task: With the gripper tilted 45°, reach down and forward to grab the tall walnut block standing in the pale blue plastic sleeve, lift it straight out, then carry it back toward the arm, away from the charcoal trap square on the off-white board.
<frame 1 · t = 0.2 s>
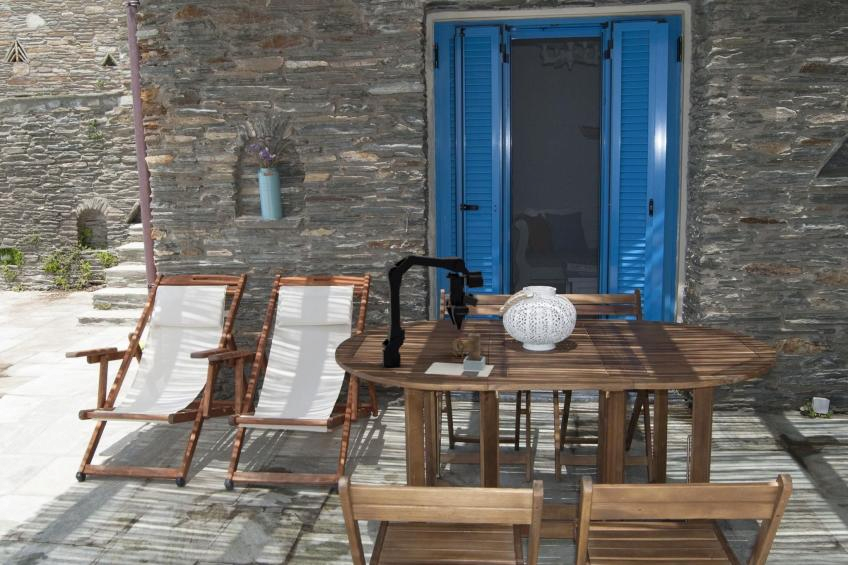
hand: (456, 327, 313), 14 cm above the table, tool pointing down, fingers open, 9 cm apart
walnut block: (474, 351, 301), in the sleeve, point 8 cm above the table, touching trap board
sleeve: (474, 363, 302), on the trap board, point 3 cm above the table
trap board: (459, 371, 300), on the table
lion figurine: (463, 358, 321), on the table
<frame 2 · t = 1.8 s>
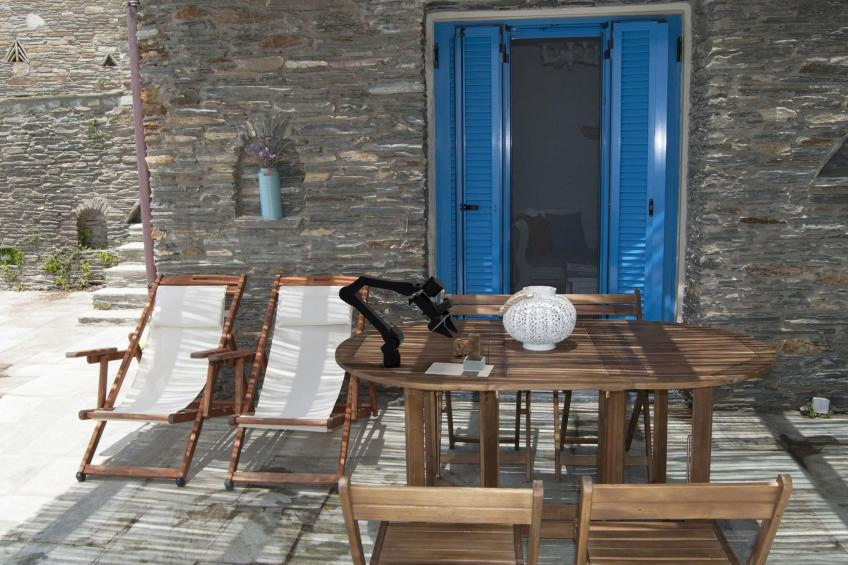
hand: (454, 334, 302), 14 cm above the table, tool tilted 45°, fingers open, 9 cm apart
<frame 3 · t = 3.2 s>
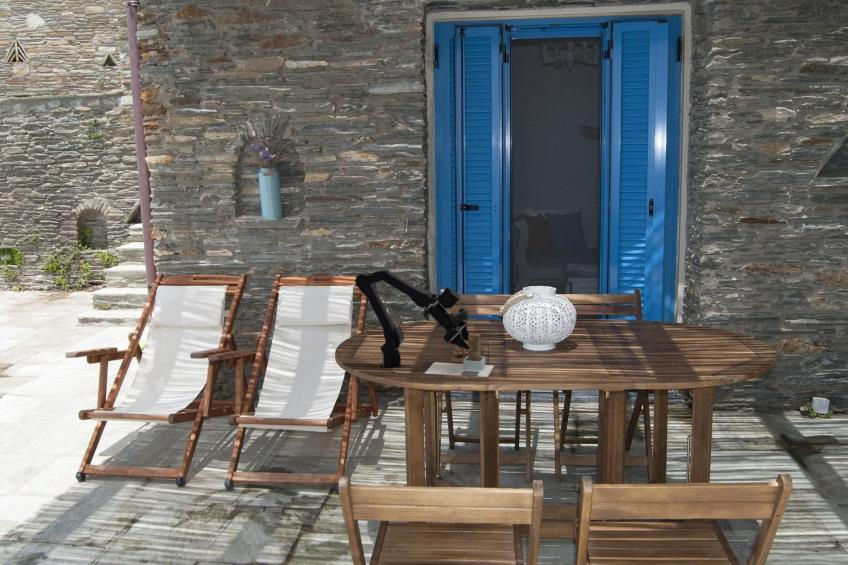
hand: (471, 345, 301), 9 cm above the table, tool tilted 45°, fingers open, 9 cm apart
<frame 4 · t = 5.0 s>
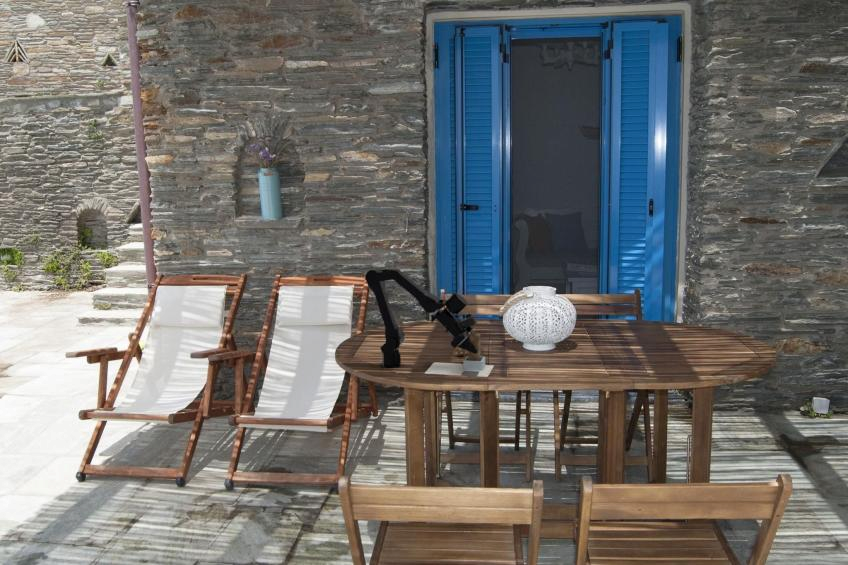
hand: (477, 351, 301), 7 cm above the table, tool tilted 45°, fingers closed on walnut block, 4 cm apart
walnut block: (474, 351, 301), in the sleeve, point 8 cm above the table, touching gripper, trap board
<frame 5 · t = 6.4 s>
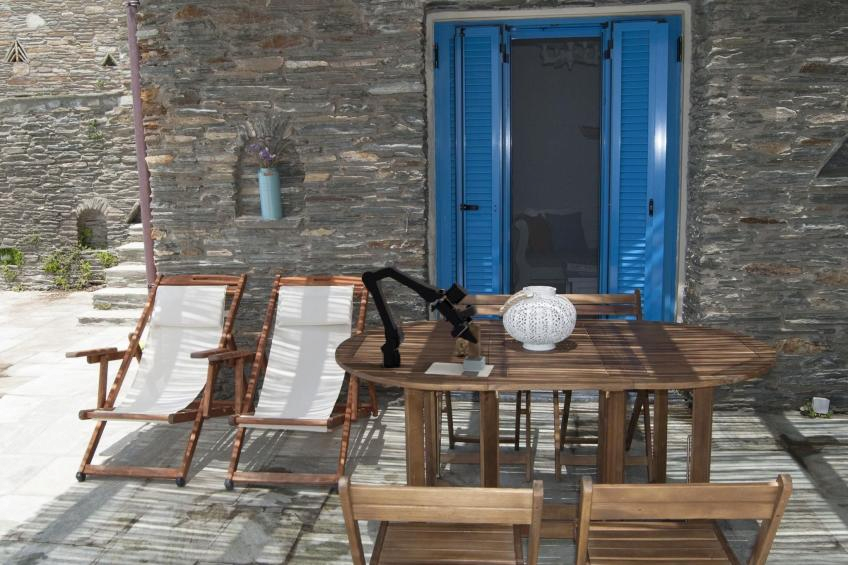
hand: (477, 341, 300), 11 cm above the table, tool tilted 45°, fingers closed on walnut block, 4 cm apart
walnut block: (474, 341, 300), point 11 cm above the table, touching gripper
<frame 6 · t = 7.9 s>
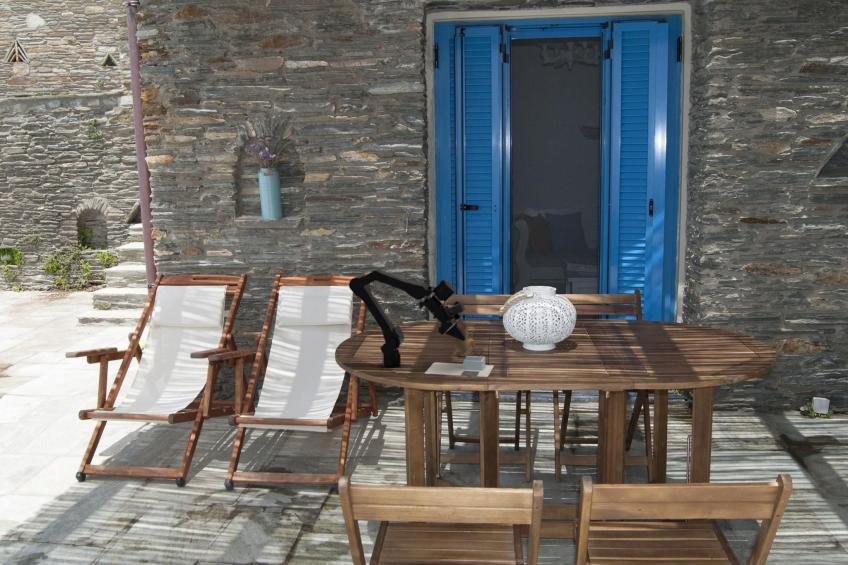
hand: (465, 338, 301), 12 cm above the table, tool tilted 45°, fingers closed on walnut block, 4 cm apart
walnut block: (462, 338, 301), point 12 cm above the table, touching gripper
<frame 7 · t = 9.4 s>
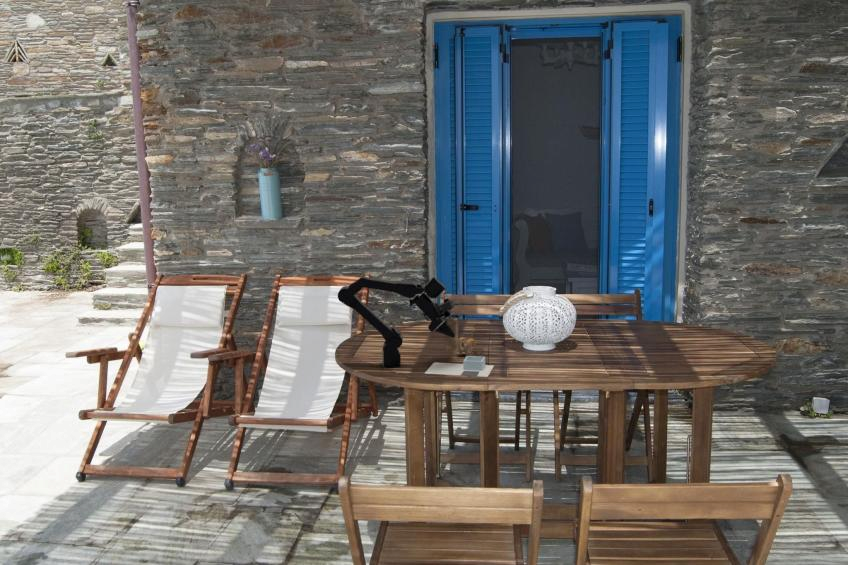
hand: (455, 335, 305), 13 cm above the table, tool tilted 45°, fingers closed on walnut block, 4 cm apart
walnut block: (452, 335, 305), point 13 cm above the table, touching gripper
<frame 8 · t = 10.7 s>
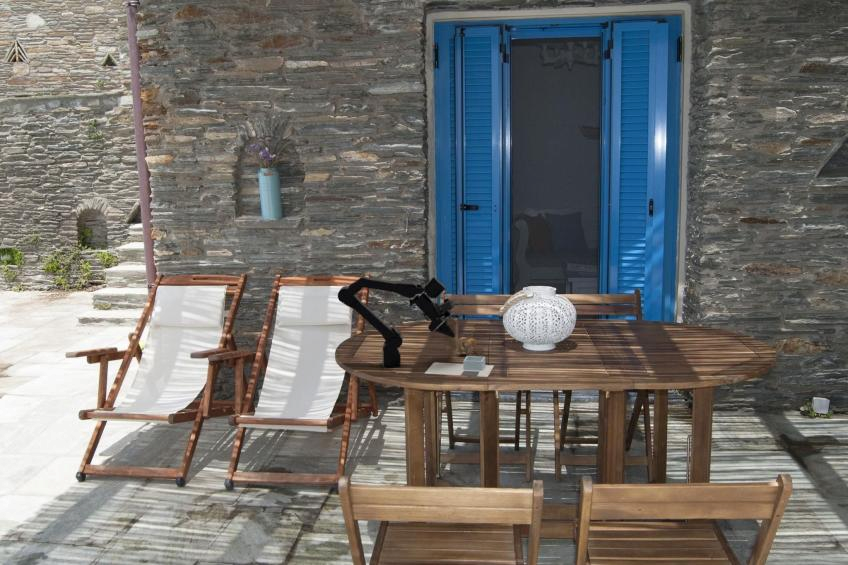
hand: (455, 335, 305), 13 cm above the table, tool tilted 45°, fingers closed on walnut block, 4 cm apart
walnut block: (452, 335, 305), point 13 cm above the table, touching gripper
at the end: the gripper is holding walnut block; walnut block point 12.6 cm above the table; walnut block touching gripper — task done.
